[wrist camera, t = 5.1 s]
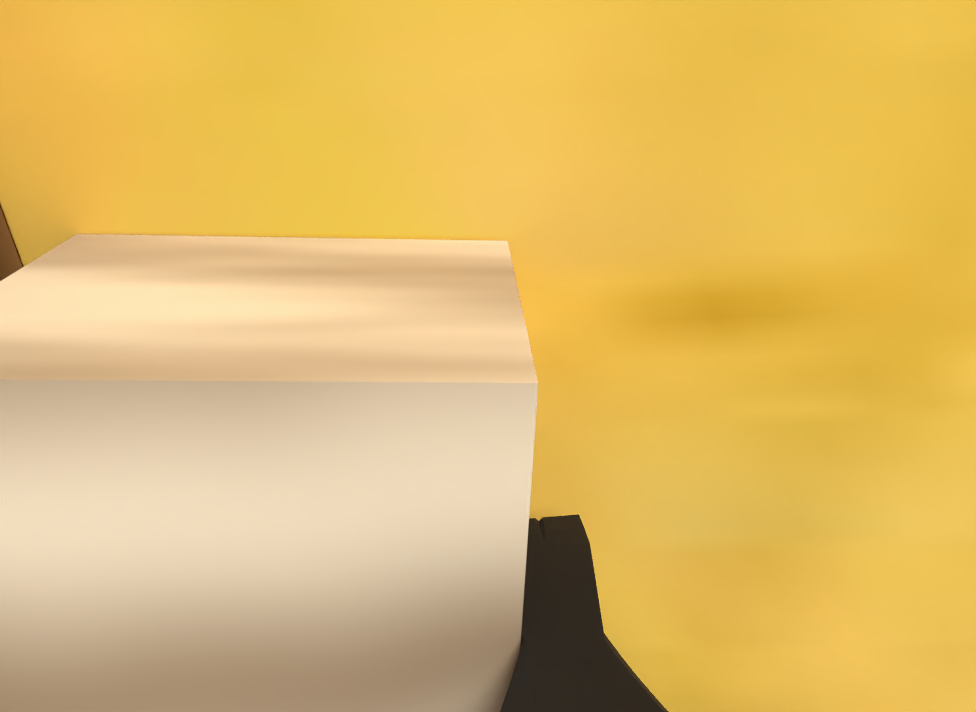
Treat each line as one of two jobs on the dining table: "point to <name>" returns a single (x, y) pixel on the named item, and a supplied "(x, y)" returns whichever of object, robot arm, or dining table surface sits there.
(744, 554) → the dining table surface
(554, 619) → the robot arm
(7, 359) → the maple block
